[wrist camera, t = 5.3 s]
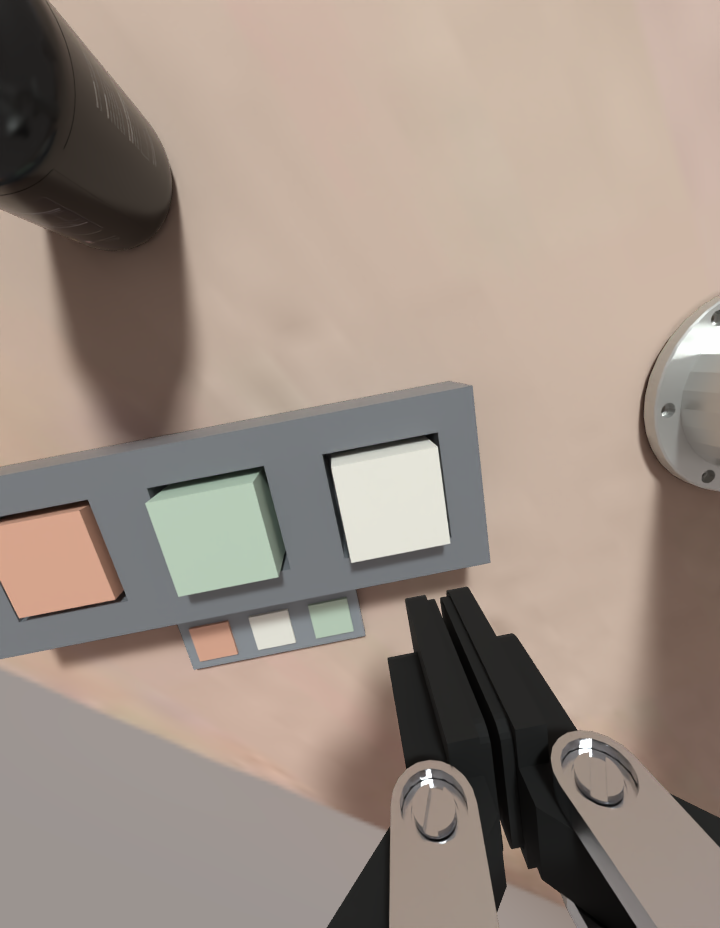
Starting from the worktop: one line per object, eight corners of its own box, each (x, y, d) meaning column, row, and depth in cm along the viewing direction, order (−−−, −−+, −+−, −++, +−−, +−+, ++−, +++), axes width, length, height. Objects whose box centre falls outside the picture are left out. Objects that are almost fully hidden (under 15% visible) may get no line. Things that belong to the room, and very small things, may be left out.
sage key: (263, 465, 21) (252, 482, 19) (285, 549, 23) (278, 577, 20) (170, 483, 21) (144, 503, 18) (198, 566, 23) (178, 596, 20)
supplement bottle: (34, 78, 18) (-484, -406, 7) (183, 121, 19) (-51, -246, 7) (32, 236, 20) (-387, 68, 8) (169, 270, 21) (-40, 159, 9)
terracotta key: (112, 490, 22) (79, 510, 19) (142, 570, 24) (115, 599, 21) (22, 508, 22) (-25, 530, 19) (57, 586, 24) (18, 618, 21)
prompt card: (354, 581, 26) (354, 587, 26) (364, 630, 27) (365, 637, 27) (178, 616, 26) (174, 622, 25) (196, 664, 27) (192, 671, 27)
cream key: (424, 435, 22) (437, 446, 19) (435, 520, 23) (450, 543, 20) (331, 452, 21) (331, 467, 19) (349, 537, 23) (351, 562, 20)
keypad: (449, 380, 23) (472, 385, 19) (467, 532, 26) (490, 562, 22) (-18, 470, 23) (-90, 492, 19) (49, 613, 26) (-2, 659, 22)
